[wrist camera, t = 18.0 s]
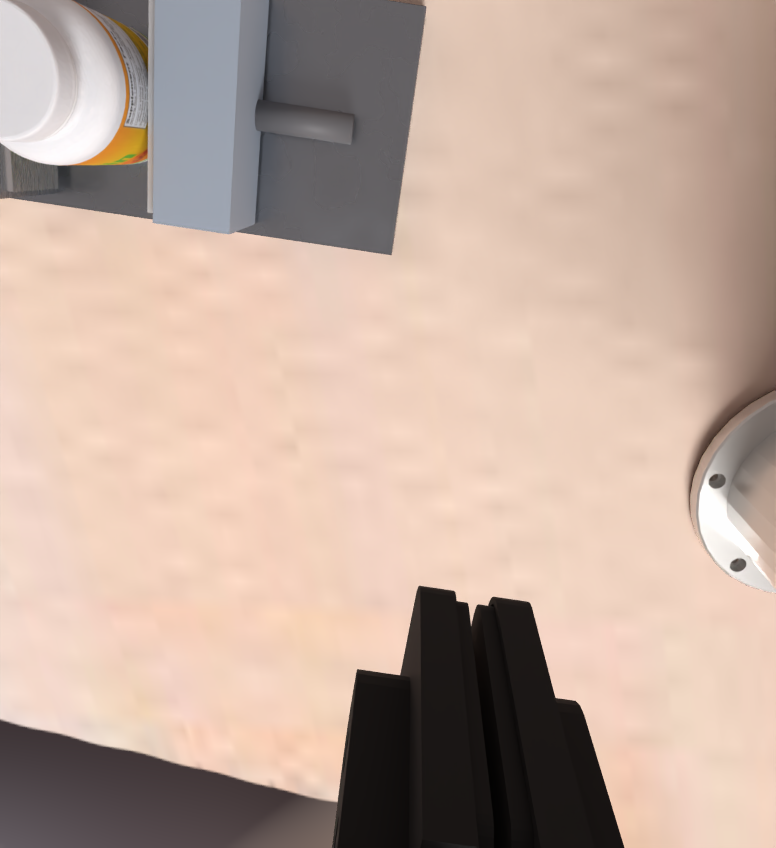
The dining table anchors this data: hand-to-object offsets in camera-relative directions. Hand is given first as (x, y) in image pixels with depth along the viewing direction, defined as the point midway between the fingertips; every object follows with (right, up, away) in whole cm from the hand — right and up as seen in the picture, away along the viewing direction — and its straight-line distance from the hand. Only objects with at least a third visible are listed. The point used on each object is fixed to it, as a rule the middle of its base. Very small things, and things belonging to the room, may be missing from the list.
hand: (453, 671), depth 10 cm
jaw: (-6, +17, +18) cm, 26 cm away
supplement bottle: (-12, +18, +19) cm, 29 cm away
